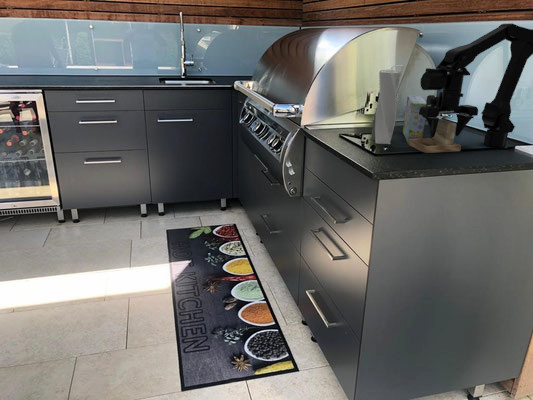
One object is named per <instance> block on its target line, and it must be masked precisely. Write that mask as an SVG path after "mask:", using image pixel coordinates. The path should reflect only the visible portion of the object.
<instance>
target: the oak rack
mask: <svg viewBox="0 0 533 400" xmlns="http://www.w3.org/2000/svg"><path fill="white" fill-rule="evenodd" d="M423 140H425V141H428V142H431V143H433V144H434V146H426V145H424V144H422V143H420V142H418V141H423ZM407 146H410V147H412V148H414V149H415V150H418V151H420V152H422V153H425V154H430V153H431V154H432V153H433V154H434V153H448V152H449V153H450V152H461V149H462V145H461V144H458V143H456V142H453V145H443V144H441V143H439V142H436V141H434V140H432V137H429V138H428V137H426V138H422V139H409V141H408V142H407Z"/></svg>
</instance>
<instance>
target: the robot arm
mask: <svg viewBox="0 0 533 400" xmlns="http://www.w3.org/2000/svg"><path fill="white" fill-rule="evenodd" d="M504 40H506V41H508V42H510V46H509V47H510V49H509V50H510V59H509V61H508V62H507V63H508V64H507V67H506V69H505V72H504V74H503V76H502V78H501V81H500V84H499V86H498V89H497V92H496V94H495V96H494V98H493V100H491V101H490V102H485V104H484V107H483V109H482V111H481V112H480V114H481V121H482V123H483V128H484V129H487V130H486V133H485V134H484V139H483V146H485V147H487V148H488V147H489V148H490V147H491V148H498V149H499V148H500V149H503V150H509V146H506V145H507V140H508V135H509V133H513V132H514V130H515V127H516V126H515V124H514V123H513V122H512V120H511V119H510V117H511V113H512V108H511V100H512V99H513V96H514V93H515V90H516V89H517V86H518V83H519V82H520V78H521V76H522V73H523V71H524V68H525V66H526V63H527V62H528V59H529V58H530V57H531V56H533V29H532V28H526V27H523V26H520V25H517V24H515V23H513V22H511V23H510V22H508V23H502V24H500V25H499V26H498V27H496V28H494V29H492V30H490V31H489V32H487V33H485V34H483V35H482V36H480V37H479V38H476V39H475V40H473V41H472V42H469V43H467V44H463V45H460V46H456V47H454V48H451V49H449V50H447V51H446V52H445V55H444V58H443V59H442V60H441V61H440V63H439V64H438V65H437V66H436V68H431V67H429V68H428V67H427V68H425V71H424V73H423V74H422V75H421V78H420V88H421V90H423V91H440V92H439V94H438V96H435V95H434V94H432V95H431V94H430V95H427V96H426V100H425V101H426V104H427V105H428V106H422V107H421V108H420V110H419V115H422V117H424V118H426V120H425V121H426V122H427V125H428V128H429V133H430V138H432V137H434V136H435V133H436V129H437V125H438V121H439V119H440V118H439V117H438V116H439V115H445V114H446V115H451V114H456V118H457V121H456V129H455V135H454V136H455V137H459V135H460V134H461V133H462V131H463V130H464V128H465V127H466V126H467V125H468V124H469V122H470V121H471V120H472V119H474V118H475V117H476V116H478V114H479V109H478V107H477V106H474V105H472V104H460V102H461V101H460V100H461V98H463V97H464V93H462V90H463V89H462V88H463V83H464V76H465V77H466V76H470V75H471V72H469V70H468V69H467V66H469V65H470V64H471V63H472V62H474V61H475V59H476V58H477V57H478V56H479V55H480V54H482V53H484V52H485V51H487V50H489V49H492V48H493V47H494V46H495V45H498V44H500V43H502V42H503V41H504ZM441 90H442V91H441Z"/></svg>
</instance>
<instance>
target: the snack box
mask: <svg viewBox="0 0 533 400" xmlns="http://www.w3.org/2000/svg"><path fill="white" fill-rule="evenodd" d="M406 98H407V99H406V100H407V101H406V106H405V113H404V122H403V128H402V134H403V135H404V137H405V140H406V143H408V141H409V139H422V138H423V137H424V130H425V124H426V121H427V120H426V118H424V117H422V115H419V110H420V108H421V107H422V106H429V105H427V104H426V100H425V98H423V97H422V96H420V95H407V97H406Z"/></svg>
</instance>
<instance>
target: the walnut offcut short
mask: <svg viewBox="0 0 533 400" xmlns="http://www.w3.org/2000/svg"><path fill="white" fill-rule="evenodd" d="M418 142H420V143H422V144H424V145H426V146H434V144H433V143H431V142H428V141H425V140H423V141H418Z"/></svg>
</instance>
